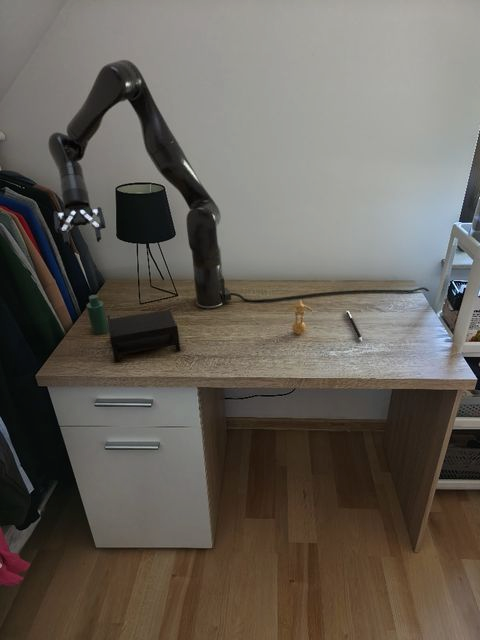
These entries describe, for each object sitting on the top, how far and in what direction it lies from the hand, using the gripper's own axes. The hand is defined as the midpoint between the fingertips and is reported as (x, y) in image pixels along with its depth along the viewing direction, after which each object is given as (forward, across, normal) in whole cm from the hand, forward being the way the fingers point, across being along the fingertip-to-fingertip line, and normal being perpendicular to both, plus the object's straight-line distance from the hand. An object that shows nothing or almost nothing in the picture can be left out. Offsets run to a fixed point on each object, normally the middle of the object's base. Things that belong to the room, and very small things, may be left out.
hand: (83, 242), depth 144 cm
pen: (+41, +74, -8) cm, 85 cm away
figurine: (+42, +56, -8) cm, 70 cm away
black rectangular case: (+35, +12, -1) cm, 37 cm away
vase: (+25, 0, +9) cm, 27 cm away
